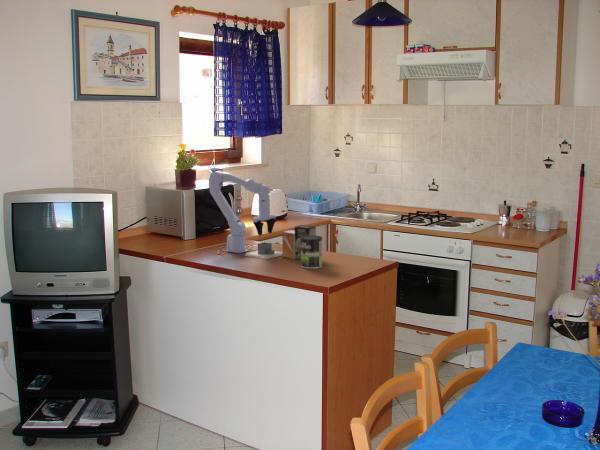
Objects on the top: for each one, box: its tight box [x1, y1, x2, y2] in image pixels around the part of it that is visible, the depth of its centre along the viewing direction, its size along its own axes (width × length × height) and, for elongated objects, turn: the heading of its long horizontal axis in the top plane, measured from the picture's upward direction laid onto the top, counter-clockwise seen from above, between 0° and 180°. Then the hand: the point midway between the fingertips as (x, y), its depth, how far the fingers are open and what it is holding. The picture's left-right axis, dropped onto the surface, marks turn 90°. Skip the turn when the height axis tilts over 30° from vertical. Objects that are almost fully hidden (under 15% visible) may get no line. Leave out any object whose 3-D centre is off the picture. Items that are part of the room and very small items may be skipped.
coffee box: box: [294, 224, 317, 260], centre depth 342 cm, size 9×6×16 cm
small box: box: [282, 229, 297, 260], centre depth 347 cm, size 8×6×13 cm
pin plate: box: [244, 250, 283, 260], centre depth 352 cm, size 14×14×5 cm
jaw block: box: [257, 241, 275, 255], centre depth 351 cm, size 8×5×5 cm, turn 50°
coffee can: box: [300, 235, 323, 270], centre depth 326 cm, size 10×10×14 cm
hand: (265, 234), depth 360 cm, fingers open, 7 cm apart
